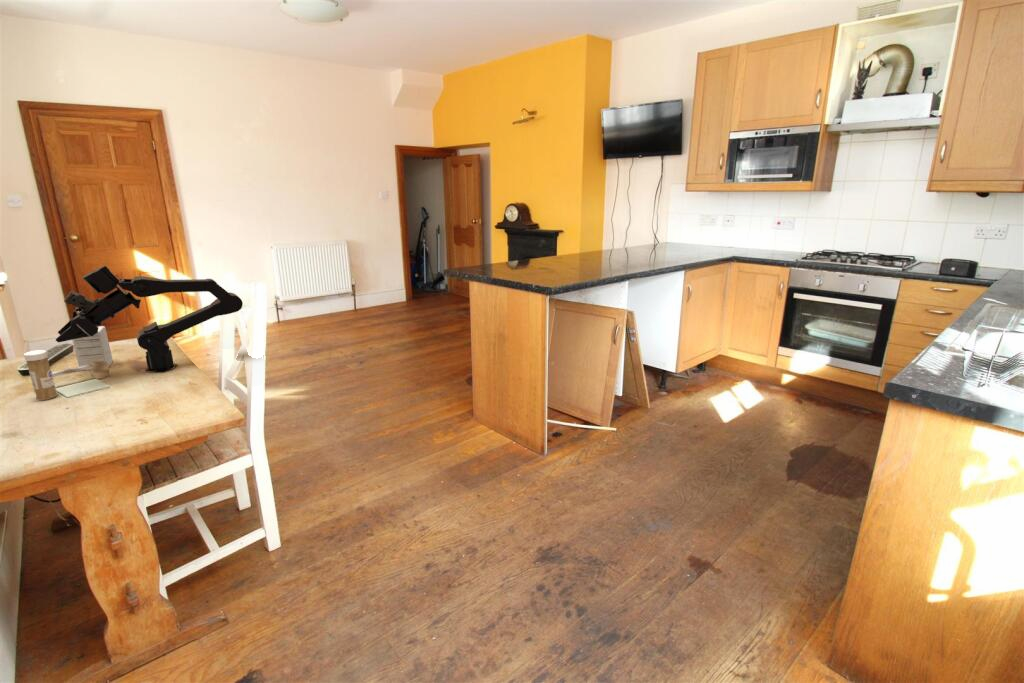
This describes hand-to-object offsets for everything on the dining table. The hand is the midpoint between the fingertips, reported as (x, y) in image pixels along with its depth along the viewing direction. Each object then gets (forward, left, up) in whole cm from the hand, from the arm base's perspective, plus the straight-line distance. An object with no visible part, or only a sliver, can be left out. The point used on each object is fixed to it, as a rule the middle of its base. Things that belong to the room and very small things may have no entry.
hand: (57, 337), depth 145 cm
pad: (-7, +3, -14) cm, 16 cm away
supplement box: (+5, -15, -15) cm, 21 cm away
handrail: (-1, -1, -14) cm, 15 cm away
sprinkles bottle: (-3, +10, -15) cm, 18 cm away
